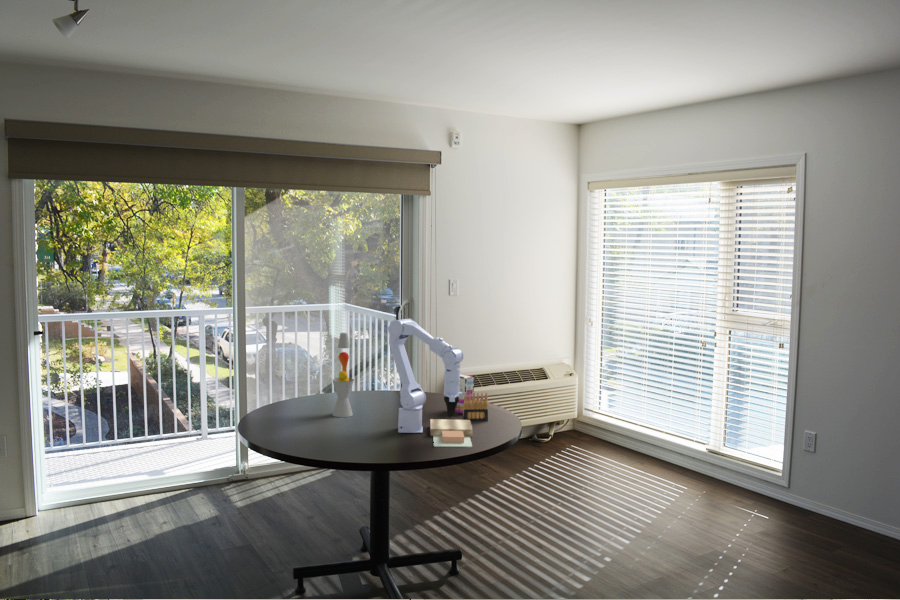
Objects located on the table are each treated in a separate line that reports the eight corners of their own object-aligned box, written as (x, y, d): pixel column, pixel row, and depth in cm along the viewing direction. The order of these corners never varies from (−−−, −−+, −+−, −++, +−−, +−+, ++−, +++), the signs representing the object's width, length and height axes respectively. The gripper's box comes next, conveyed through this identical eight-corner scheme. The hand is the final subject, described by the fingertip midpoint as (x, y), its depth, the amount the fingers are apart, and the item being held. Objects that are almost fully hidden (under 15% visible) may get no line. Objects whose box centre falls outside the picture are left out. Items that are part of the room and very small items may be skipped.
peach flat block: (442, 442, 236) (442, 436, 236) (441, 436, 244) (441, 430, 243) (464, 442, 236) (464, 437, 236) (462, 436, 244) (462, 430, 244)
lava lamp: (333, 411, 276) (334, 331, 274) (354, 411, 277) (355, 331, 274) (330, 417, 267) (331, 334, 265) (352, 417, 268) (353, 334, 265)
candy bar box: (473, 414, 280) (474, 377, 278) (464, 415, 277) (465, 378, 275) (458, 408, 288) (459, 372, 287) (449, 410, 285) (450, 373, 284)
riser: (430, 436, 244) (430, 428, 244) (430, 426, 258) (430, 419, 258) (472, 437, 245) (472, 429, 245) (469, 427, 259) (469, 419, 258)
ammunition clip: (463, 421, 267) (464, 393, 266) (462, 420, 269) (463, 392, 268) (488, 421, 269) (489, 392, 268) (486, 419, 271) (487, 392, 270)
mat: (433, 446, 232) (433, 445, 232) (433, 437, 244) (433, 436, 244) (472, 447, 232) (472, 446, 232) (469, 437, 244) (469, 436, 244)
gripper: (463, 385, 234) (462, 421, 235) (461, 377, 248) (460, 411, 250) (444, 384, 234) (443, 421, 235) (443, 376, 248) (442, 411, 249)
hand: (450, 416), depth 242 cm, fingers closed
